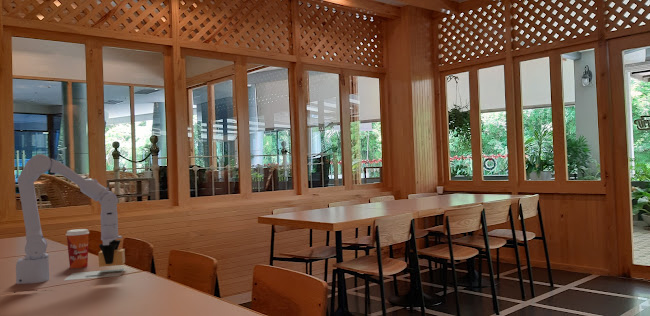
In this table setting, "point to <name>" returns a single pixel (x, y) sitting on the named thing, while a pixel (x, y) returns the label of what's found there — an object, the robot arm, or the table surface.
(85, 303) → the table surface
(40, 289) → the table surface
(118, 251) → the block
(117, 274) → the board
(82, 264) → the coffee cup
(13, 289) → the table surface
